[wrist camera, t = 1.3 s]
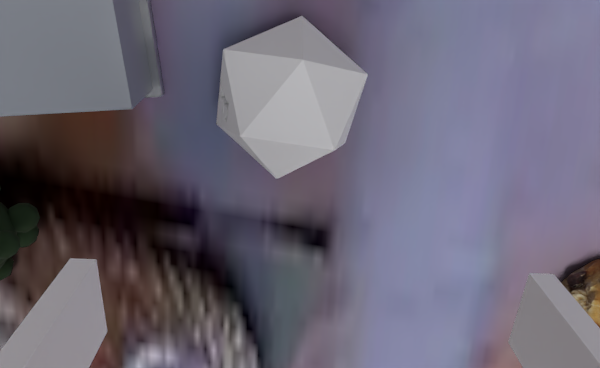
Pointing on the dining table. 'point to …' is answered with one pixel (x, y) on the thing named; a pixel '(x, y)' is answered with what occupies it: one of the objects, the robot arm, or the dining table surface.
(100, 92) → the slate block
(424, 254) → the dining table surface
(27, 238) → the toy figurine
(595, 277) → the bread roll
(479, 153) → the dining table surface
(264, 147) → the die
